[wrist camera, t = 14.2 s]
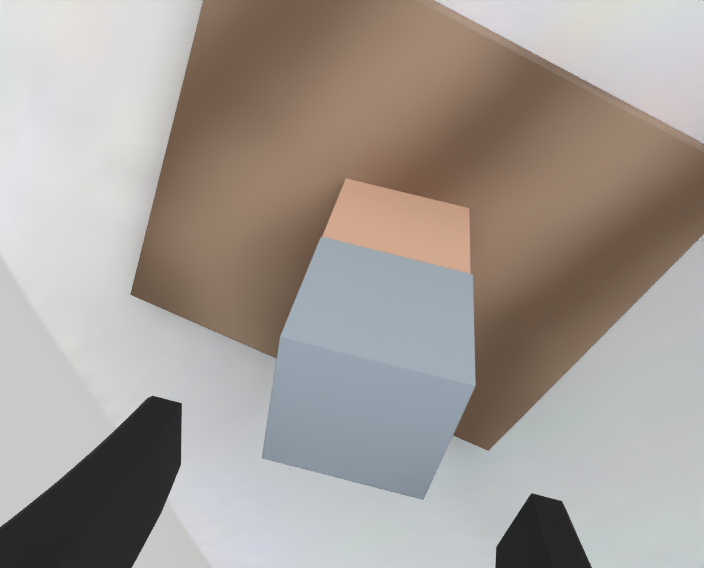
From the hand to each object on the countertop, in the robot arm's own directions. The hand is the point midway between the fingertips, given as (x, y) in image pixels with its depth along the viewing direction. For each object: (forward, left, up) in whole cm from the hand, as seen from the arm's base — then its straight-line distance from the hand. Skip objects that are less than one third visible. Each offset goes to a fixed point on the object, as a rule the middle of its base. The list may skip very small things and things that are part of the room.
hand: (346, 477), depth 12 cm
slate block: (0, 0, -5) cm, 5 cm away
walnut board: (0, 0, -10) cm, 10 cm away
